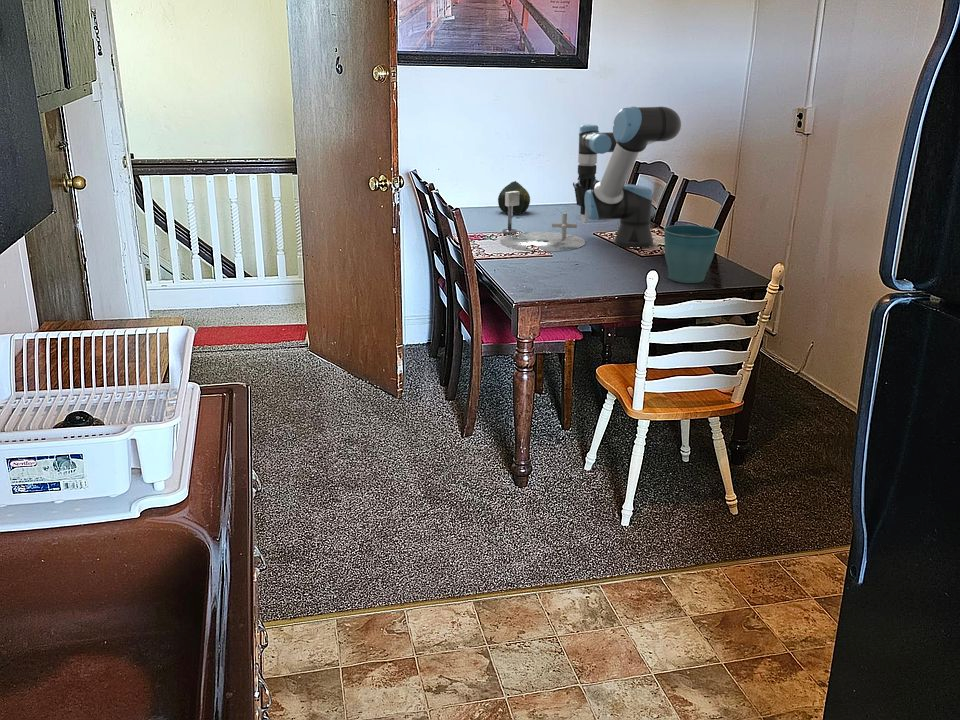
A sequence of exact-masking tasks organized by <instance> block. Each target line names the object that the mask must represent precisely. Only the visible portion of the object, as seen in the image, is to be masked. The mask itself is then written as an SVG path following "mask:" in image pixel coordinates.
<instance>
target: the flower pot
mask: <svg viewBox="0 0 960 720" xmlns="http://www.w3.org/2000/svg"><path fill="white" fill-rule="evenodd" d="M663 232H664V247H663V248H664V257H665V262H666V265H667V270H668V278H669V279H670V280H671V281H674V282H678V283H683V284H697V283H702V282H704V281H705V279H706V275H707V272H708V270H709V268H710V266H711V264H712V261H713V259H714V256H715V252H716V249H717V248H716V247H717V243H718V239H719V236H720V231H719V230H718V229H715V228H713V227H710V226H709V227H708V226H702V225H691V224H677V225H676V224H674V225H668V226H666V227H664V228H663Z"/></svg>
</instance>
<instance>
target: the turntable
mask: <svg viewBox="0 0 960 720" xmlns="http://www.w3.org/2000/svg"><path fill="white" fill-rule="evenodd" d="M516 234H517V233H516ZM516 234H514V235H516ZM514 235H512V234H507V235H506V236H502V238H500V243H501V244H502V245H503V246H505V245H506V246H505V247H507V246H508V247H507V248H510V247H512V248H511V249H514V248H517V249H516V250H519V249H523V250H522V251H526V250H528V249H529V248H528V247H526V246H530V245H535V246H537V247H539V248H540V249H541V250H543V251H549V253H551V252H564V251H565V252H567V251H572V250H576V249H580V248H582V247H583V246H585V244H586V240H584V238H582V237H580V236H577V235H573V234H568V233H566V238H562V232H554V231H552V232H551V231H527V232H519V236H518V235H516V236H518V237H519V238H516V236H514ZM511 236H512V237H511ZM518 240H519V241H518ZM517 242H518V243H517ZM526 248H528V249H526Z"/></svg>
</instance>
